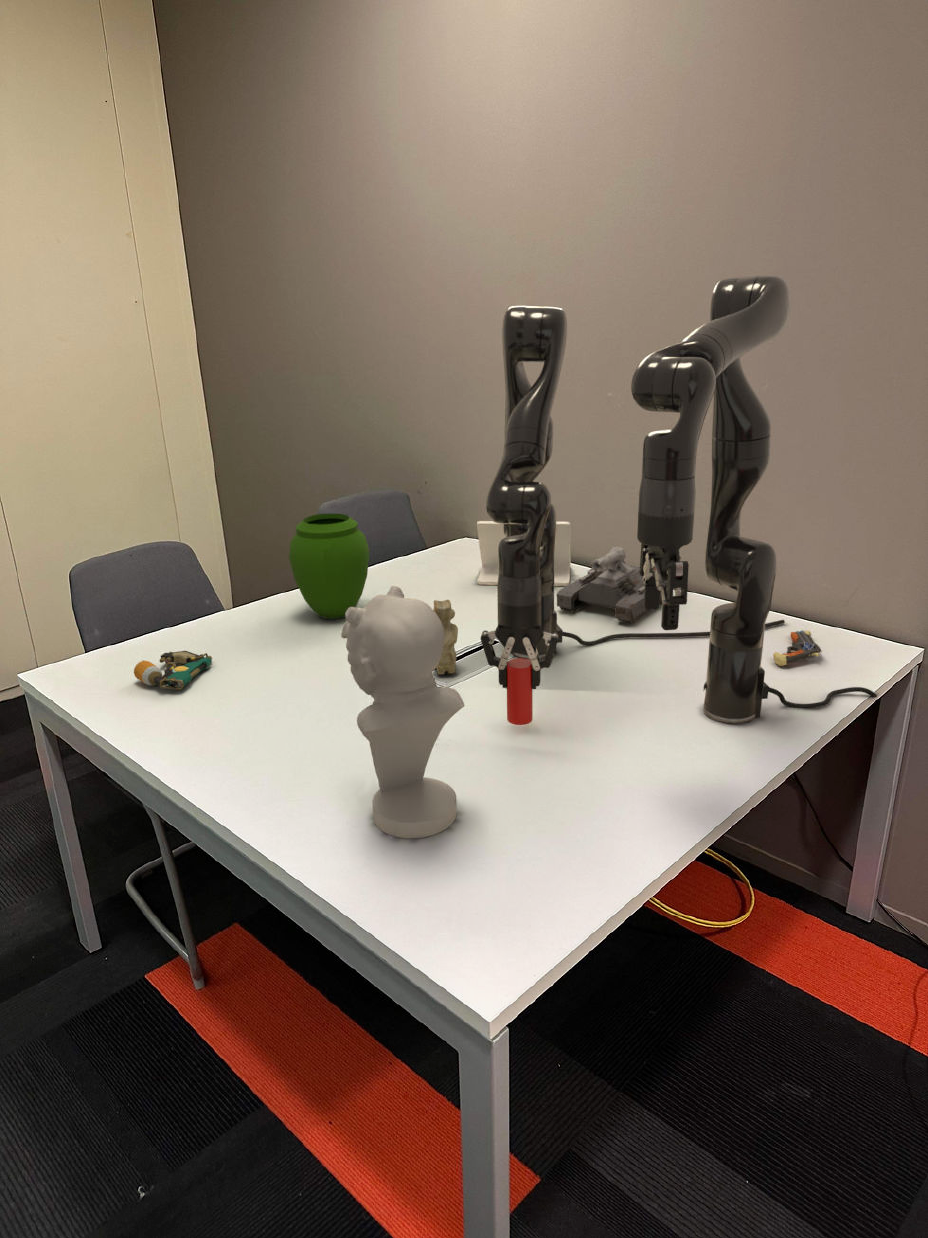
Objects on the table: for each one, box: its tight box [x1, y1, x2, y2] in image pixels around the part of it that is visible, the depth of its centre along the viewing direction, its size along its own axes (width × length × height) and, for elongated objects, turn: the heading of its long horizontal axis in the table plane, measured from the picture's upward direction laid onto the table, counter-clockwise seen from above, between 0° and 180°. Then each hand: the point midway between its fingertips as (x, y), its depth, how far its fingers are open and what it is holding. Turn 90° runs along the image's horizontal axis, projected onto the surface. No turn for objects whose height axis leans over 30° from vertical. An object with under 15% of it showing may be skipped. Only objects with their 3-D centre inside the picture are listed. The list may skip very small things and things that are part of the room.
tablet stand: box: [476, 520, 572, 587], centre depth 236 cm, size 18×25×17 cm
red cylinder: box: [506, 657, 534, 726], centre depth 153 cm, size 5×5×11 cm
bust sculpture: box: [340, 585, 465, 839], centre depth 128 cm, size 16×24×35 cm, turn 28°
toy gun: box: [772, 630, 823, 667], centre depth 183 cm, size 3×19×10 cm
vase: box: [288, 512, 370, 620], centre depth 209 cm, size 20×20×24 cm
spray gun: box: [133, 650, 213, 690], centre depth 180 cm, size 4×17×15 cm
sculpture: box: [433, 599, 459, 675], centre depth 177 cm, size 6×7×15 cm
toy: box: [556, 546, 663, 624], centre depth 212 cm, size 25×20×15 cm
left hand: (519, 686), depth 153 cm, fingers closed on red cylinder, 4 cm apart
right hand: (660, 618), depth 123 cm, fingers open, 8 cm apart
